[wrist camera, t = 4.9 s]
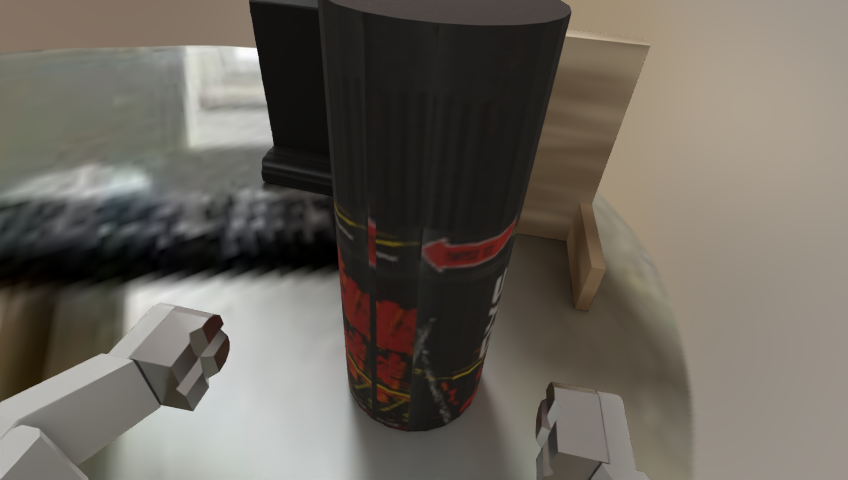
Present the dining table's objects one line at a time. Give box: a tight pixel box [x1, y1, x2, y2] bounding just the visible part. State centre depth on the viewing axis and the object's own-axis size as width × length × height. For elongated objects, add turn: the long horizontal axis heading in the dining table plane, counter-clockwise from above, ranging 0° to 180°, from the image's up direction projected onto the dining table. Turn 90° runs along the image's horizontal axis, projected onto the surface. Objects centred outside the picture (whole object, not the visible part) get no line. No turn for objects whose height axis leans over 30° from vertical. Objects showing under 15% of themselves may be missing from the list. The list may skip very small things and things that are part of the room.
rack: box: [516, 30, 650, 311], centre depth 23 cm, size 8×9×12 cm
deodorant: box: [318, 0, 571, 431], centre depth 15 cm, size 6×6×15 cm
